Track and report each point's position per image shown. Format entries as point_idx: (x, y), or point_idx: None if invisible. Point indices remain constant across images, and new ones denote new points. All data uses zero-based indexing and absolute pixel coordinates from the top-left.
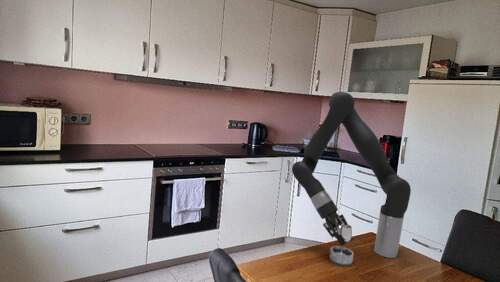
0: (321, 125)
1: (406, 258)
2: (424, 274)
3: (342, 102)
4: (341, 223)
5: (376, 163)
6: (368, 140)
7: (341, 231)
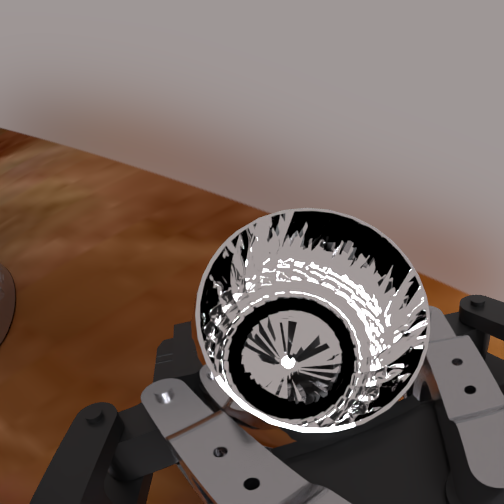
0: None
1: None
2: (53, 158)
3: None
4: (267, 457)
5: None
6: None
7: (404, 305)
